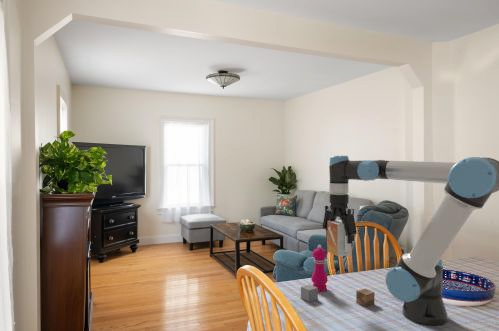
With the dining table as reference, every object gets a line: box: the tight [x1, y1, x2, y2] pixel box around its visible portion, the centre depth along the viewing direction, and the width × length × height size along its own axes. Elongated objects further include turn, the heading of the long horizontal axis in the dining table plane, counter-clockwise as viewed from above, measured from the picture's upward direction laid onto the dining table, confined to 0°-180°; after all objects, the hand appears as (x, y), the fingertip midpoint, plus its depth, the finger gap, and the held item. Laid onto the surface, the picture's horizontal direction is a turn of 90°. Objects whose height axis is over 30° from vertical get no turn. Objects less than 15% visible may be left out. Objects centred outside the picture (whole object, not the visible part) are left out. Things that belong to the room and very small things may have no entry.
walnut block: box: [355, 288, 375, 308], centre depth 147 cm, size 5×5×5 cm
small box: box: [326, 219, 352, 258], centre depth 147 cm, size 8×6×13 cm
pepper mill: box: [311, 244, 329, 292], centre depth 164 cm, size 7×7×20 cm
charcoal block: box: [300, 284, 319, 303], centre depth 152 cm, size 5×5×5 cm
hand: (338, 248), depth 147 cm, fingers closed on small box, 9 cm apart
